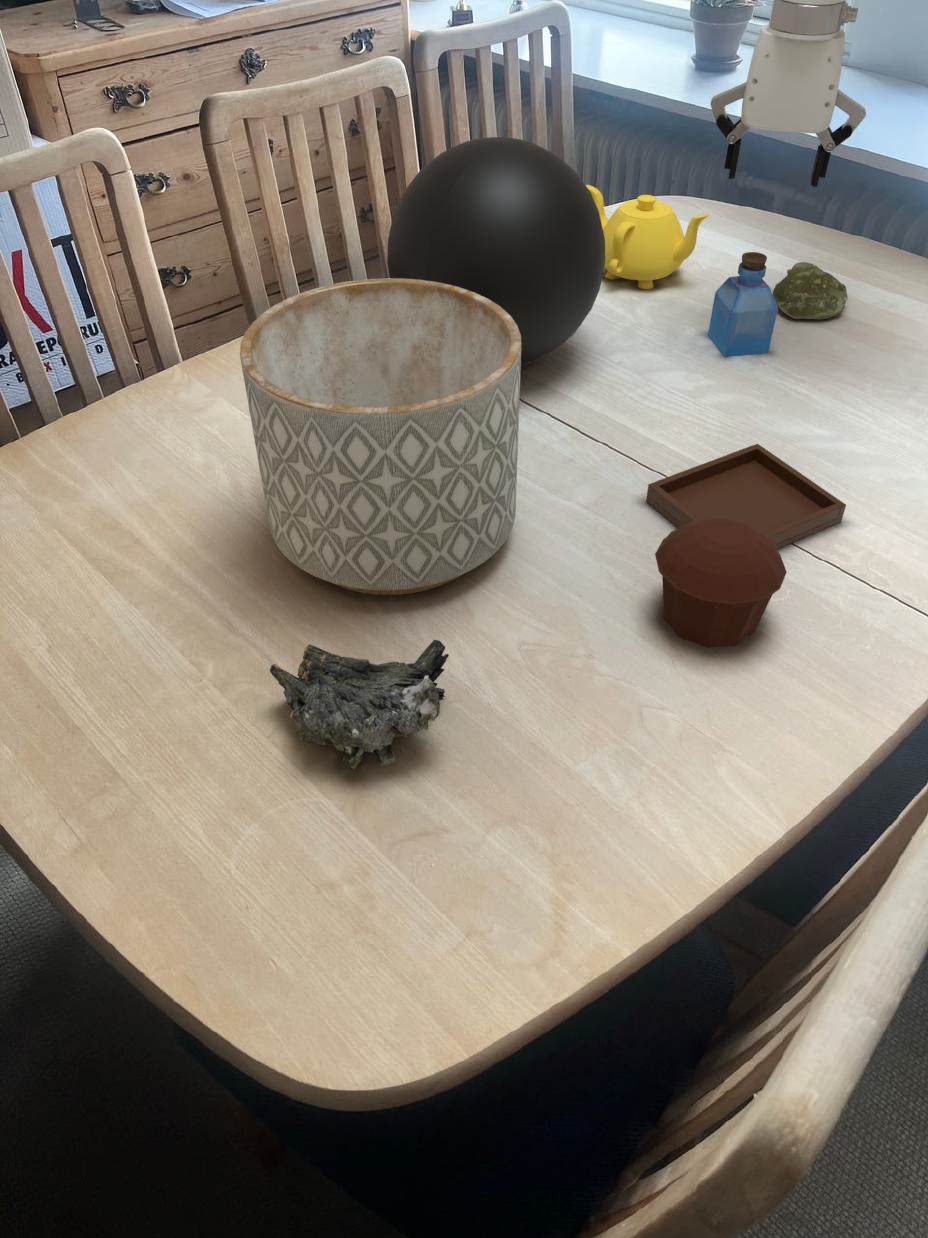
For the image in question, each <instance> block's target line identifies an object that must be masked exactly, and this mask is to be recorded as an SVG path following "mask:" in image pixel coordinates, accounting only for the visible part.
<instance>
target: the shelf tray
mask: <svg viewBox="0 0 928 1238" xmlns="http://www.w3.org/2000/svg"><path fill="white" fill-rule="evenodd" d="M645 501H646V503H647V504H649V505H650V506H651V507H652V508H653V509H654V510H656V511H657V512H658V513H659V514H661V516H663V517H664V518H666V520H668V521H669V522H670V523H671V524H673V525H674V526H675V527H677V528H679V527H681V526H683V525H685V524H687V523H689V522H691V521H693V520H698V519H706V518H714V517H718V518H726V519H734V520H738V521H740V522H743V523H746V524H748V525H751V526H753V527H755V528H757V529H758V530H760V531H761V532H762V533H763V534H765V535H766V536H767V537H768V538H769V539H771V540H772V541H773V543H774V544H775V545H776V547H777V549H778V550H780V549H782V548H784V547H786V546H789V545H791V544H794V543H796V542H798V541H800V540H802V539H805V538H807V537H810V536H812V535H814V534H816V533H819V532H821V531H824V530H826V529H828V528H831V527H833V526H835V525H838V524H839V523H842V521H843V517H844V514H845V511H846V507H847V504H846V503H845V502H843V501H841V500H840V499H839V498H838V497H836V496H834V495H833V494H832V493H830V492H829V491H827V490H825V488H823V487H821V486H820V485H818V484H817V483H816V482H814V481H813V480H811V479H810V478H808V477H807V476H805V475H804V474H802V472H800V471H798V470H796V469H795V468H794V467H792V466H791V465H790V464H788V463H787V462H786V461H783V460H782V459H781V458H779V457H778V456H776V455H775V454H773V453H772V452H770V451H769V450H767V449H766V448H765V447H763V446H762V445H760V444H759V443H755V444H753V445H750V446H747V447H745V448H744V447H743V448H741V449H739V450H736V451H734V452H731V453H729V454H725V455H723V456H720V457H718V458H715V459H712V460H709V461H707V462H704V463H701V464H698V465H696V466H692V467H691V468H688V469H686V470H683V471H680V472H677V473H675V474H672V475H669V476H667V477H663V478H662V479H659V480H656V481H654V482H651V483H648V486H647V492H646V498H645Z"/></svg>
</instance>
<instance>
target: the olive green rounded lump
mask: <svg viewBox="0 0 928 1238" xmlns="http://www.w3.org/2000/svg"><path fill="white" fill-rule="evenodd" d="M786 274H787V275H786V276H785V277H783V278H782V279H781V280H780V281H779V282H777V283H776V284H775V286H774V288H773V289H772V294H773V297H774V300H775V302H776V305H777V308H778V309H780V310H781V311H782V312H783V313H784V314H785V315H787V316H789V317H790V318H792V319H795V320H825V319H826V320H827V319H830V318H832V317H834V316H837V315H839V314H841V312H842V311H843V310H844V308H845V305H846V303H847V302H848V297H849V296H848V292H847V286H846V285H845V284H844V283H842V282H841V281H840V280H838V278H837V277H835V276H834V275H832V274H831V273H829V272H827V271H824V270H823V269H822V268H820V267H818V265H815V264H814V263H811V262H807V261H800V262H796V263H795V264H794V265H793V266H792V267H791V268H790V269H787V270H786Z"/></svg>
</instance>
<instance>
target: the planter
mask: <svg viewBox="0 0 928 1238" xmlns="http://www.w3.org/2000/svg"><path fill="white" fill-rule="evenodd" d="M239 346H240V349H239V358H240V364H241V369H242V376H243V381H244V387H245V393H246V399H247V405H248V410H249V416H250V422H251V427H252V433H253V438H254V445H255V451H256V456H257V457H256V458H257V462H258V469H259V475H260V479H261V485H262V490H263V498H264V503H265V508H266V514H267V521H268V525H269V529H270V534H271V537H272V539H273V541H274V543H275V544H276V546H277V548H278V550H279V551H280V552H281V553H282V554H283V555H284V557H286V559H287V560H289V561H290V562H291V563H292V564H294V565H295V566H296V567H297V568H298V569H300V570H302V571H304V572H306V573H308V574H309V575H311V576H313V577H314V578H317V579H319V580H322V581H326V582H327V583H332V584H333V585H335V586H337V587H340V588H343V589H345V590H348V591H353V592H358V593H362V594H369V595H376V596H377V595H378V596H396V595H397V596H398V595H399V596H400V595H408V594H414V593H420V592H425V591H429V590H432V589H436V588H438V587H441V586H444V585H446V584H448V583H451V582H452V581H454V580H457V579H458V578H460V577H461V576H463V575H464V574H466V573H468V572H471V571H472V570H474V569H475V568H477V567H478V566H481V565H482V564H483V563H485V562H486V561H488V560H489V559H490V558H491V557H492V556H494V555H495V554H496V553H497V552H498V551H499V549H500V548H501V547H502V546H503V545H504V543H505V542H506V541H507V539H508V537H509V536H510V534H511V532H512V530H513V528H514V524H515V519H516V508H517V483H518V482H517V481H518V453H519V427H520V426H519V423H520V397H521V396H520V395H521V371H522V366H521V334H520V332H519V329H518V326H517V324H516V323H515V321H514V320H513V319H512V317H511V316H510V315H509V314H508V313H507V312H506V311H505V310H504V309H503V308H501V307H500V306H499V305H497V304H496V303H494V302H493V301H491V300H489V299H488V298H485V297H483V296H481V295H479V294H477V293H475V292H472V291H469V290H466V289H463V288H460V287H457V286H452V285H448V284H444V283H439V282H433V281H426V280H417V279H404V278H390V277H388V278H387V277H381V278H364V279H356V280H355V279H354V280H349V281H341V282H336V283H331V284H326V285H322V286H319V287H316V288H312V289H308V290H306V291H303V292H300V293H298V294H295V295H293V296H290V297H288V298H286V299H284V300H282V301H280V302H278V303H276V304H274V305H273V306H271V307H270V308H268V309H267V310H266V311H264V312H262V313H261V314H260V315H259V316H258V317H257V318H256V319H255V320H253V321H252V322H251V324H249V326H248V328H247V329H246V330H245V332H244V334H243V337H242V339H241V342H240V345H239Z"/></svg>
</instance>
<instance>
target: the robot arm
mask: <svg viewBox="0 0 928 1238" xmlns="http://www.w3.org/2000/svg"><path fill="white" fill-rule="evenodd" d="M858 11H859V8H858V7H852V5H849V3H848V2H847V0H772V5H771V11H770V16H769V21H768V24H764V25H762V26H761V28H760V30H759V32H758V36H757V39H756V41H755V44H754V48H753V51H752V55H751V59H750V64H749V68H748V72H747V78H746V81H745V82H742V83H741V84H739V85H736V86H734V87H731V88H730V89H728V90H725V91H722V92H721V93H718V94H716V95H714V96H712V98H711V100H710V108H711V111H712V114H713V117H714V120H715V122H716V123H715V124H716V126H717V128H718V129H719V131H720V132H721V134H723V136H724V137H725V139H726V142H727V143H728V144H727V148H726V149H727V150H726V154H725V155H726V156H725V162H724V167H723V169H724V170H729V173H728V180H734V179H735V178H736V173H737V167H738V162H739V157H740V149H741V145H742V137H743V136H744V135H745V134H746V133H747V132H748V131H749V130H750V129H756V130H765V131H776V132H787V133H798V134H800V133H801V134H815V135H816V137H817V139H818V140H819V142H820V144H818V145H817V150H816V154H815V158H814V163H813V167H812V172H811V177H810V186H811V187H812V188H817V187H818V184H819V180H820V179H821V178H822V179H825V178H826V174H827V170H828V166H829V162H830V158H831V154H832V152H834V151H835V149H836V148H837V147H838V146H840V145H841V144H842V143H844V142H845V141H846V140H848V139H849V138H850V137H851V136H852V134H853V133H854V132H855V130H856V129H857V128H858V126H860V124H861V123H862V122H863V120H864V119H866V116H867V111H866V108H865V107H864V106H862V105H861V104H860V103H859V102H857V101H855V100H854V99H853V98H851V97H850V96H848V95H847V94H846V93H845V92H843V91H841V90H840V89H839V85H840V80H841V74H842V66H843V61H844V60H843V59H844V52H845V39H846V32H845V31H844V30H842V29H841V27H842V26H844V24H848V23H856V20H857V16H858ZM741 99H742V102H741V114H740V117H739V118H738V119H737V120H736V121H735V122H733V121H732V119H731V118H730V117H729V115H728V114H727V111H726V107H727V106H728V105H730V104H733V103H735V102H737V101H739V100H741ZM835 107H837V108H838V109H840V110H841V111H842V112H844V113H845V114H847V115H848V118H847V119H846V121H845V122H844V123H843V124H841V125H840V126H839V127H837V128H836V129H835V130H832V129H831V126H830V125H831V122H832V119H833V116H834V111H835Z"/></svg>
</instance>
